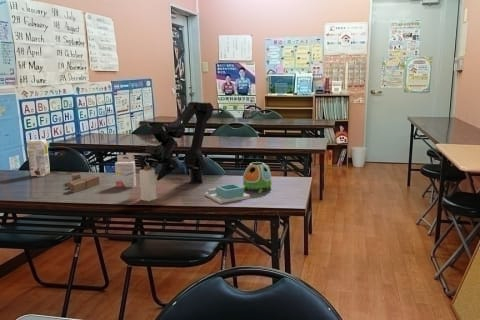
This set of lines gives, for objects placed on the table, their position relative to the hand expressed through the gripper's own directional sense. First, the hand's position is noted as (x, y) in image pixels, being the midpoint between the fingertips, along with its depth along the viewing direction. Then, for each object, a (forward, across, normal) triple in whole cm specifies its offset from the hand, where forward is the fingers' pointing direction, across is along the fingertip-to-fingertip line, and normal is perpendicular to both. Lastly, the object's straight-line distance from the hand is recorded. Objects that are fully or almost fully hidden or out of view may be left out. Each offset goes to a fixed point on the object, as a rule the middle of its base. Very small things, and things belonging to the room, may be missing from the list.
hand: (149, 178), depth 182 cm
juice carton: (0, -84, +12) cm, 84 cm away
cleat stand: (-6, +28, +18) cm, 34 cm away
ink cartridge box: (-2, -24, +14) cm, 28 cm away
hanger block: (+7, 0, +6) cm, 9 cm away
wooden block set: (+7, -46, +6) cm, 47 cm away
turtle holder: (-19, +33, +31) cm, 49 cm away
